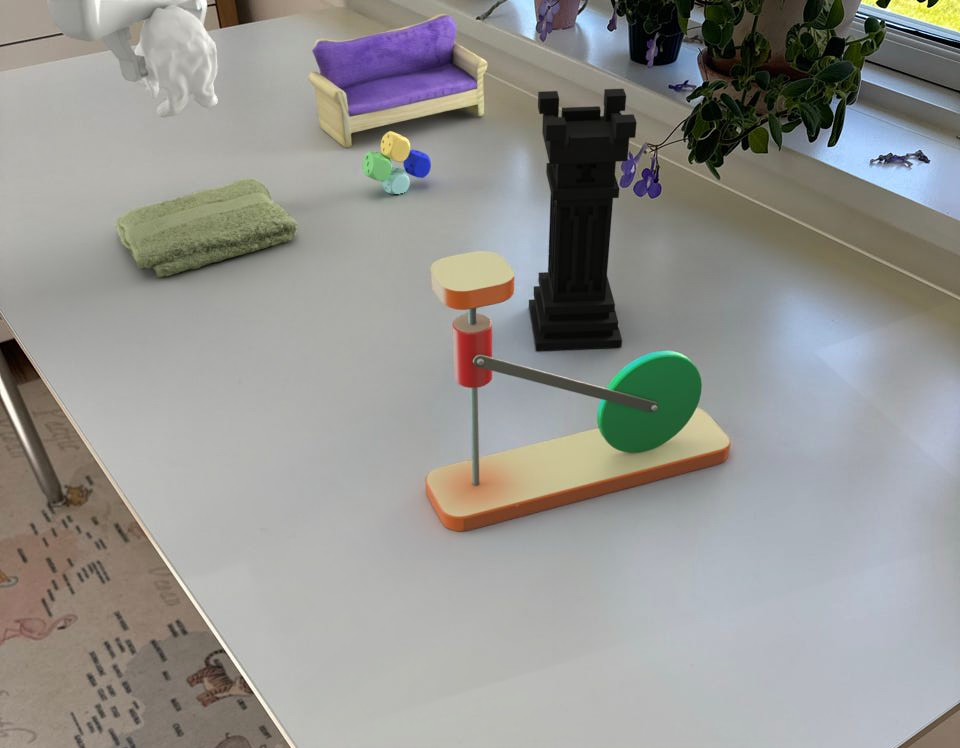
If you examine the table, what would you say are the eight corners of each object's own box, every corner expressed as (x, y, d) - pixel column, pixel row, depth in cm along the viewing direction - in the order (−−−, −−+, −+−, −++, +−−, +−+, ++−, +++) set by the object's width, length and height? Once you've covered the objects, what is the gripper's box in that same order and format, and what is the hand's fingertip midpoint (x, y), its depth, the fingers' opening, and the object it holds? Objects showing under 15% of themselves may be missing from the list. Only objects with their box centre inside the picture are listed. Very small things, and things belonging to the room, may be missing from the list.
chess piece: (535, 351, 97) (541, 127, 82) (528, 307, 102) (533, 90, 88) (621, 347, 97) (642, 123, 82) (609, 303, 102) (627, 86, 88)
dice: (423, 177, 123) (420, 120, 118) (434, 185, 121) (431, 128, 117) (362, 193, 120) (356, 136, 115) (372, 201, 119) (367, 144, 114)
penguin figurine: (142, 19, 88) (99, -2, 95) (169, 127, 93) (126, 99, 101) (212, 5, 90) (164, -14, 98) (234, 111, 96) (187, 85, 103)
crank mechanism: (448, 535, 79) (437, 304, 65) (421, 484, 84) (404, 257, 70) (735, 459, 85) (781, 232, 71) (695, 415, 89) (732, 193, 75)
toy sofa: (340, 151, 128) (330, 61, 121) (313, 127, 134) (302, 39, 126) (489, 117, 135) (488, 29, 127) (458, 95, 140) (455, 10, 133)
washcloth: (111, 234, 114) (103, 205, 112) (264, 198, 120) (259, 170, 117) (144, 286, 106) (136, 256, 104) (305, 245, 112) (301, 216, 109)
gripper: (180, -145, 93) (211, 27, 103) (7, -94, 81) (61, 95, 91) (235, -138, 91) (261, 36, 101) (66, -85, 79) (115, 107, 89)
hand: (165, 65), depth 96 cm, fingers closed on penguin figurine, 6 cm apart
